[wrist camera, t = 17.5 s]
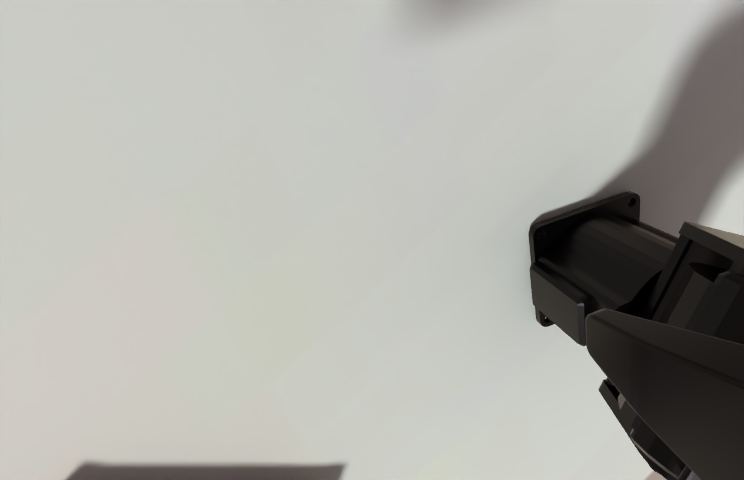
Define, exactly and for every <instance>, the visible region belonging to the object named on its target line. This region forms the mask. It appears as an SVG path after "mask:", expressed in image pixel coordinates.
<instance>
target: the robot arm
mask: <svg viewBox="0 0 744 480" xmlns="http://www.w3.org/2000/svg"><path fill="white" fill-rule="evenodd" d="M629 200H630V202H629ZM628 202H629V203H628ZM639 216H640V197H639V195H638V194H635V193H632V192H630V191H629V192H625V193H622V194H619V195H616V196H613V197H611V198H608V199H605V200H602V201H599V202H596V203H594V204H591V205H588V206H585V207H582V208H579V209H577V210H574V211H571V212H568V213H565V214H562V215H559V216H557V217H554V218H551V219H548V220H545V221H542V222H540V223H537V224H535V225H533V226H532V227H531V229H530V231H529V244H530V255H531V266H530V278H531V289H532V300H533V305H534V306H535V310H536V319H537V321H538V322H539V323H540V324H541V325H542V326H544V327H547V326H550V325H553V324H556V325H557V326H558V327H559V328H560V329H562V330H563V331H564V332H565V333H566V334H567V335H569V336H570V337H571V338H572V339H573V340H574V341H575V342H577V343H578V344H580V345H582V346H585V345H586V346H587V349H588V352H589V354H590V355H591V357H592V358H593V359H594V361H595V362H596V363H597V364H598V366H599V367H600V368H601V369H602V371H603V372H604V373H605V374H606V376H607V379H606V380H603V382H602V384H601V386H600V388H599V392H600V393H601V395H602V396H603V398H604V399H605V401H606V402H607V404H608V405H609V407H610V408H611V410H612V411H613V413H614V415H615V416H616V418H617V419H618V421H619V422H620V424H621V425H622V427H623V428H624V430H625V431H626V433H627V434H628V436H629V438H630V439H631V441H632V442H633V444H634V445H635V447H636V448H637V450H638V451H639V453H640V454H641V455H642V456H643V458H644V459H645V460H646V461H647V463H648V464H649V466H650V467H651V468H652V469H653V470H654V471H655V472H657V473H659V474H661V475H662V476H663V477H664V478H666V479H667V480H744V236H742V235H738V234H734V233H730V232H726V231H722V230H718V229H714V228H710V227H706V226H702V225H698V224H694V223H690V222H684V223H683V225H682V227H681V229H680V231H679V233H680V234H681V235H680V237H679V238H677V237H674V236H672V235H670V234H668V233H665V232H663V231H661V230H658V229H656V228H654V227H652V226H649V225H647V224H645V223H642V222H640V221H639ZM540 231H541V234H540V235H539V236H537V235H538V233H539V232H540ZM546 316H547V317H546ZM545 317H546V318H545Z"/></svg>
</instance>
